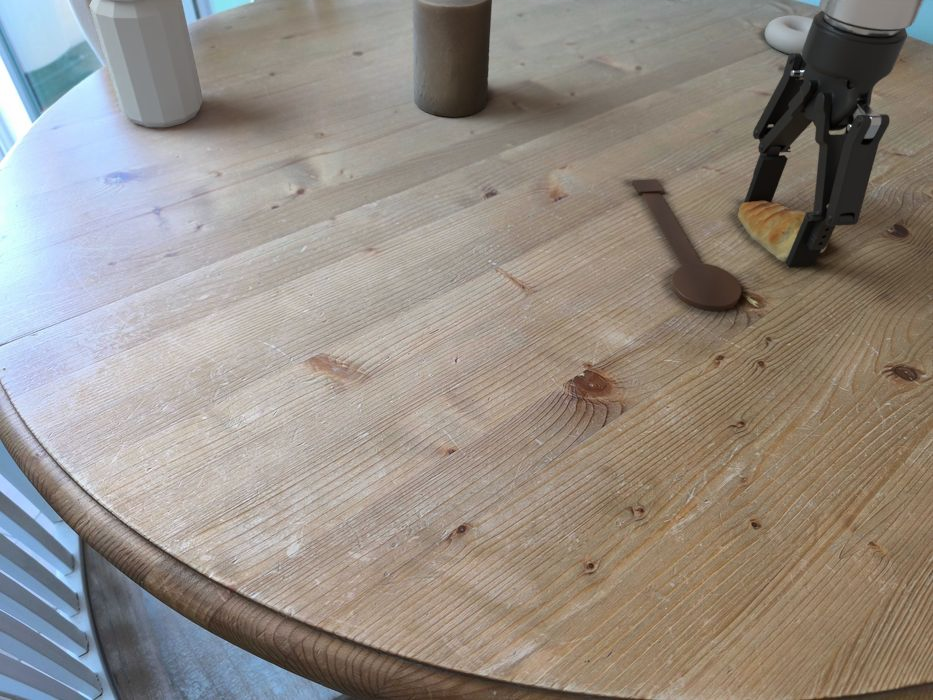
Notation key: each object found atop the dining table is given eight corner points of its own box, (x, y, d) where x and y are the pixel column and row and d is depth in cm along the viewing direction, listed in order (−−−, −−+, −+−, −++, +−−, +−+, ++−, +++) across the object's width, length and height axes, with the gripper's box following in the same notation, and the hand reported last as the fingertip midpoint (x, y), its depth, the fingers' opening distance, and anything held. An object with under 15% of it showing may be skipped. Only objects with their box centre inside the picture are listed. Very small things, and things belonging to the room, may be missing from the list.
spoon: (669, 189, 85) (672, 176, 84) (747, 316, 70) (752, 303, 68) (614, 191, 84) (617, 179, 83) (682, 321, 69) (686, 308, 68)
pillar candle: (499, 110, 97) (508, -12, 87) (431, 123, 94) (431, -2, 83) (466, 79, 103) (471, -38, 93) (401, 91, 100) (398, -29, 90)
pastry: (718, 223, 80) (729, 192, 78) (764, 209, 83) (775, 178, 80) (783, 272, 74) (797, 241, 72) (830, 255, 77) (845, 224, 74)
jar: (123, 135, 89) (73, -27, 76) (122, 99, 95) (76, -56, 83) (208, 125, 91) (174, -33, 79) (201, 90, 98) (169, -61, 85)
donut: (773, 29, 121) (752, 47, 115) (780, 7, 119) (759, 24, 113) (835, 45, 118) (817, 65, 111) (844, 23, 115) (826, 41, 109)
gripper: (764, -26, 70) (702, 182, 86) (894, 78, 54) (789, 310, 70) (838, -26, 71) (763, 180, 87) (987, 76, 55) (863, 305, 71)
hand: (775, 238), depth 78 cm, fingers closed on pastry, 10 cm apart
